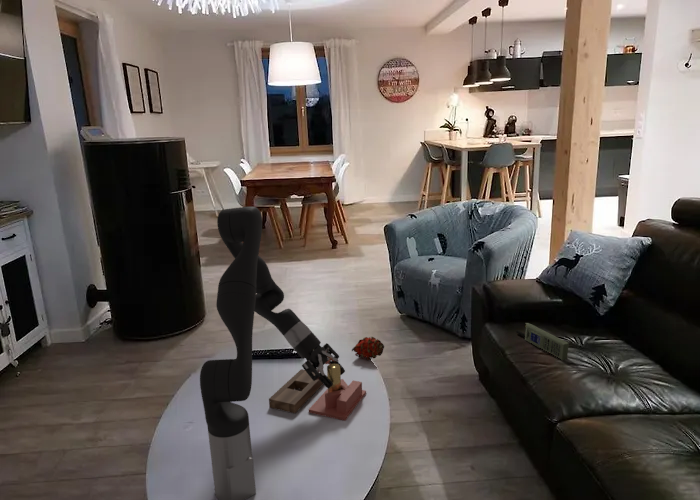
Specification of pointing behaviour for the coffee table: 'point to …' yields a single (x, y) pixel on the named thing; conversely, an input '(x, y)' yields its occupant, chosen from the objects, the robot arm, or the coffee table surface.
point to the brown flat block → (295, 392)
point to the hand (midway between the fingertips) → (337, 379)
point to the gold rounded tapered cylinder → (334, 377)
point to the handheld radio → (545, 341)
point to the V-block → (339, 401)
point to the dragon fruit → (369, 348)
